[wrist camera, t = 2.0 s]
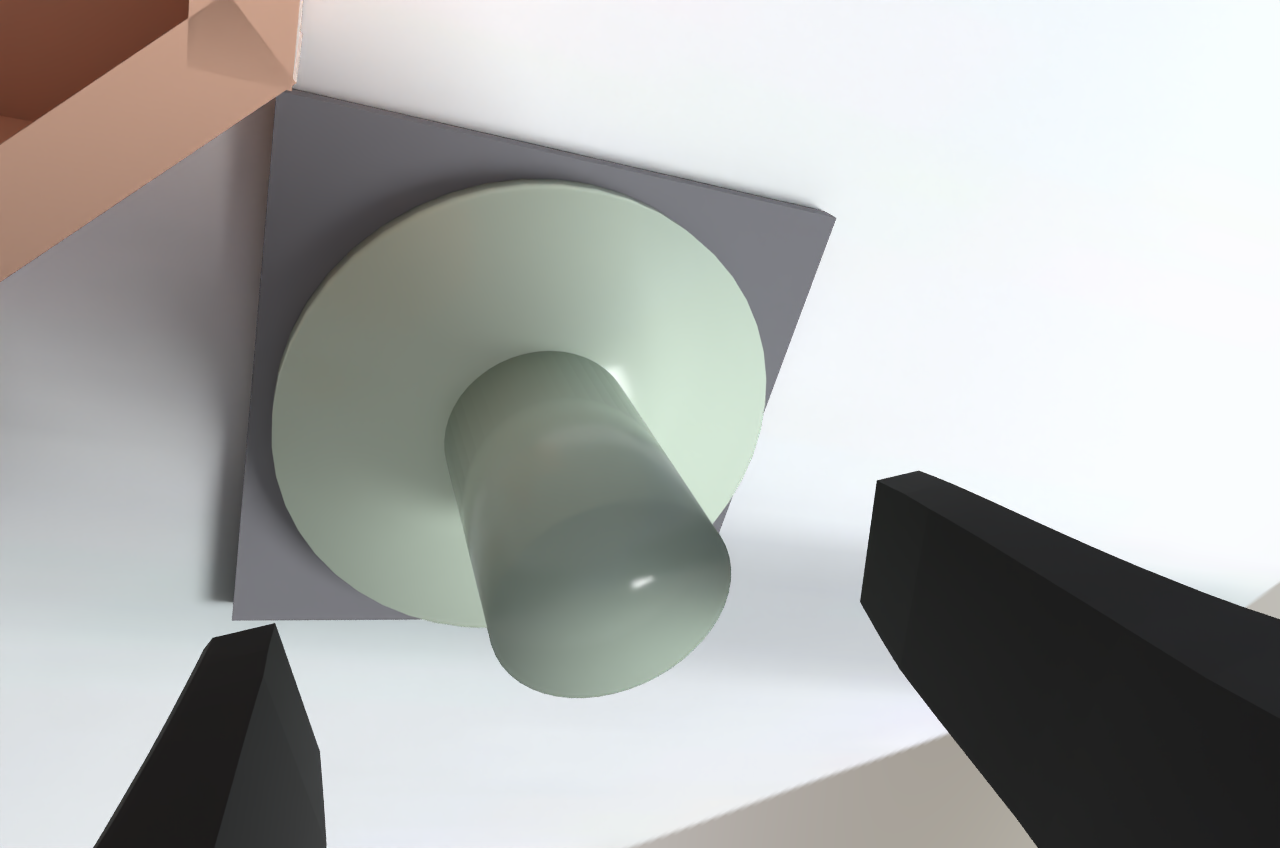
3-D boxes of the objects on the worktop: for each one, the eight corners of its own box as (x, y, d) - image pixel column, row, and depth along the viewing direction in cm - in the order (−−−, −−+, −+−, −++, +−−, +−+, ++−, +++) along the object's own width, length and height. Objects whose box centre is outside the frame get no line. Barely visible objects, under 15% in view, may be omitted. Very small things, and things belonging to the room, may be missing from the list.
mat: (824, 211, 14) (836, 218, 14) (680, 604, 17) (687, 617, 17) (277, 85, 11) (276, 90, 10) (233, 603, 14) (232, 620, 14)
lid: (814, 232, 14) (1002, 348, 10) (677, 606, 17) (780, 799, 13) (301, 120, 11) (294, 228, 7) (252, 605, 14) (230, 860, 10)
